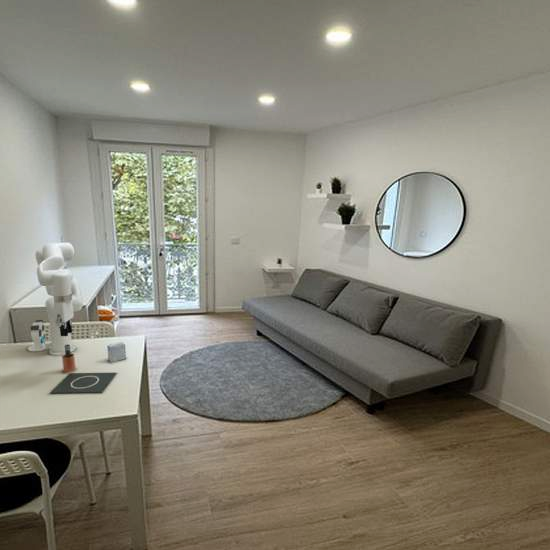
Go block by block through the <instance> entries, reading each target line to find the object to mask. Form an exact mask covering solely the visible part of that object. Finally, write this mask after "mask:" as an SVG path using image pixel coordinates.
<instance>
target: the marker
mask: <svg viewBox="0 0 550 550" xmlns="http://www.w3.org/2000/svg"><path fill="white" fill-rule="evenodd" d="M71 354H72V352H71V353H70V345H69V344H68V345H65V354H64V355H66V358H68V357H71Z"/></svg>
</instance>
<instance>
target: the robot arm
mask: <svg viewBox="0 0 550 550" xmlns="http://www.w3.org/2000/svg"><path fill="white" fill-rule="evenodd" d="M74 256H75V249H74V247H73V244H72V243H71V242H48V243H46V244H44V245H43V247H42V248H39V249H37V250H36V251H35V260H36V264H37V265H38V266H37V268H36V275H37V281H38V284H39V285H40V286H43V287H45V289H46V293H47V295H48V296H51V297H49V298H48V299H46V301H45V303H44V304H45V310H46V312H47V316H48V323H49V331H50V341H51V343H50V344H45V348H48V349H49V350H48V353H49V355H52V356H61V355H62V356H63V355H65V345H68V344H69V345H70V353H71V354H72V353H73V352H74V351H75V350H76V346H75V345H73V343H72V342H73V341H72V333H73V322H72V321H73V318H74V315H75V313H74V312H79V311H82V309H83V303H84V302H83V299H82V294H81V288H80V284H79V281H78V279H77V278H75V277H73V273H72V272H71V270H70V269H68V268H62V267H63V266H64V264H65V263H69V262H71V261H72V260H73V258H74ZM61 268H62V269H61Z"/></svg>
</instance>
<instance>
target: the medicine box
mask: <svg viewBox="0 0 550 550" xmlns="http://www.w3.org/2000/svg"><path fill="white" fill-rule="evenodd" d="M106 347H107V359H108V361H109V362H110V363H114V362H119V361H122V360H125V359H127V351H126V343H125V342H123V341H120V342H115V343H111V344H108V345H107V346H106Z"/></svg>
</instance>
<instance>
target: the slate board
mask: <svg viewBox="0 0 550 550" xmlns="http://www.w3.org/2000/svg"><path fill="white" fill-rule="evenodd" d="M116 375H117V372H69V374H67V376H65V377H64V378H63V379H62V380H61V381H60V382H59V383H58V384H57V386H55V388H53V389H52V390H51V391H50V393H49V394H50V395H51V394H52V395H57V394H58V395H59V394H63V395H64V394H65V395H67V394H102V393H103V392H104V391H105V389H106V388H107V387H108V385H110V383H111V382H112V380H113V379H114V377H115V376H116Z"/></svg>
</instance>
